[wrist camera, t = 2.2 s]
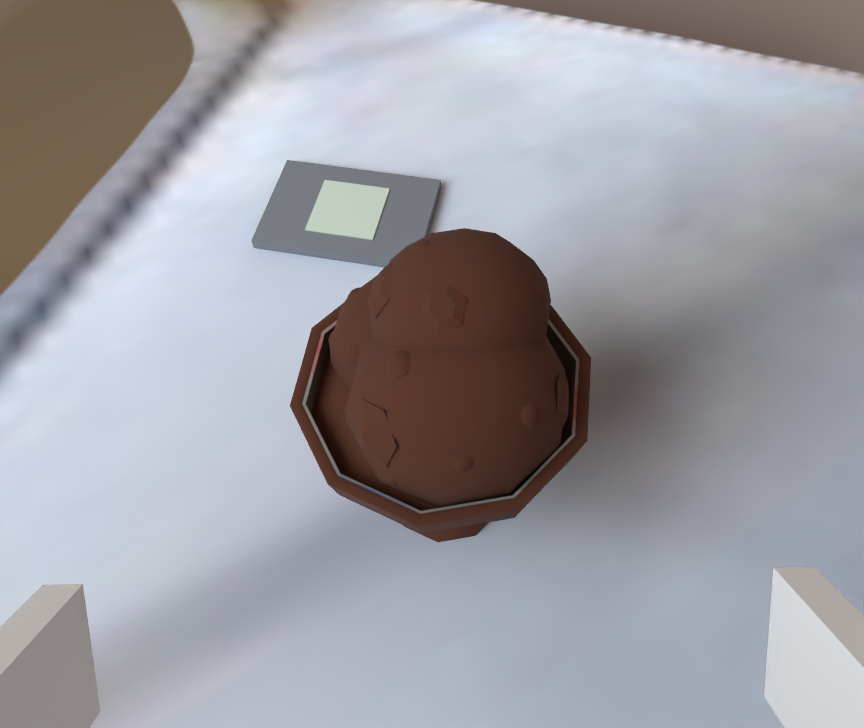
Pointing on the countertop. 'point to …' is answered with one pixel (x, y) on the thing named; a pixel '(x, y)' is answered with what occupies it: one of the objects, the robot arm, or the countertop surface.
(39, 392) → the countertop surface
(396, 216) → the mat
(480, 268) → the ice cream bowl
